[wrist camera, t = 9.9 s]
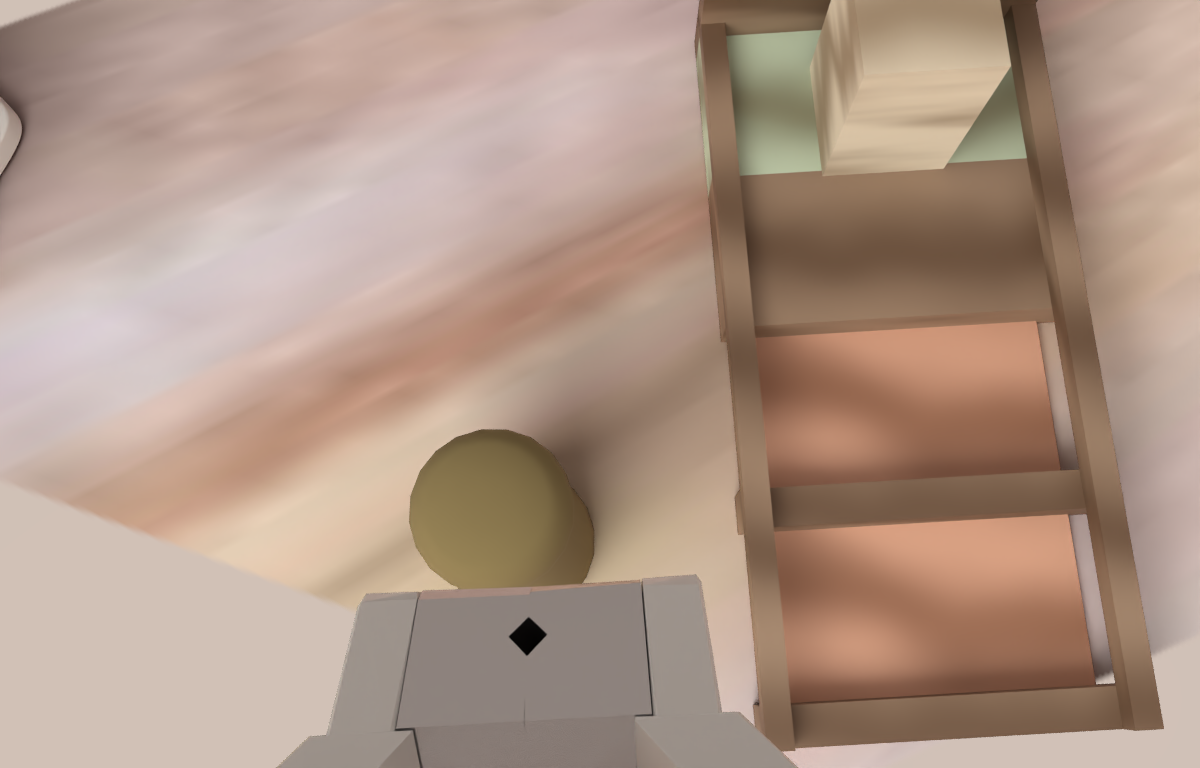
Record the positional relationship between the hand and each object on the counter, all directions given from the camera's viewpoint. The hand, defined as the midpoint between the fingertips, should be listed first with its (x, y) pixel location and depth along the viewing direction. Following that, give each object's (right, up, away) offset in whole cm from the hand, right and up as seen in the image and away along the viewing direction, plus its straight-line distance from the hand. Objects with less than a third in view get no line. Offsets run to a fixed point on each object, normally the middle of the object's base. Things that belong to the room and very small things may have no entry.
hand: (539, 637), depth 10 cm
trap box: (+13, +4, +35) cm, 37 cm away
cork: (-3, -4, +34) cm, 34 cm away
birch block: (+12, +13, +36) cm, 40 cm away
